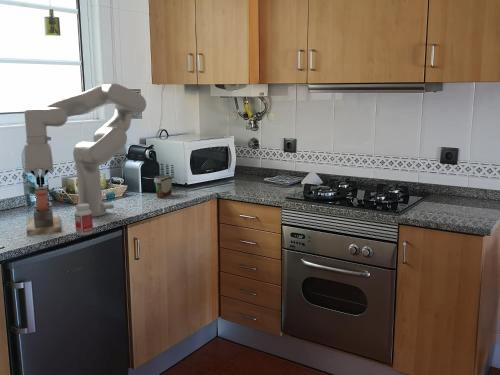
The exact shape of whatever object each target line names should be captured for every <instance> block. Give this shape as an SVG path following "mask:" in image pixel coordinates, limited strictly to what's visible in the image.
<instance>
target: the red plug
mask: <svg viewBox="0 0 500 375" xmlns="http://www.w3.org/2000/svg"><path fill="white" fill-rule="evenodd" d="M34 194H35V196H36V202H37V207H38V212H40V211H48V205H47V202H48V190H47V189H46V190H39V191H37V190H35V191H34Z"/></svg>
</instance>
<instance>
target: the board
mask: <svg viewBox="0 0 500 375" xmlns="http://www.w3.org/2000/svg"><path fill="white" fill-rule="evenodd" d="M47 202H48V201H47ZM52 203H53V202H51V201H50V202H48V211H40V212H38V207H37V203H34V204H33V216H32V217H28V219H27V227H26V235H27V236H37V235H46V234H56V233H62V232H63V231H62V223H61V216H60V214H53V205H52Z"/></svg>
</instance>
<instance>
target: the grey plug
mask: <svg viewBox="0 0 500 375" xmlns="http://www.w3.org/2000/svg"><path fill="white" fill-rule="evenodd" d="M34 189H35V190H36V191H39V190H47V189H48V185H43V187H39V185H37V186H35V188H34ZM47 205H48V201H47Z"/></svg>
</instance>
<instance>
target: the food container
mask: <svg viewBox="0 0 500 375" xmlns="http://www.w3.org/2000/svg"><path fill="white" fill-rule="evenodd" d="M172 181H173V176H172V175H171V174H169V175H168V174H166V175H158V176H157V175H156V176H154V179H153V182H154V184H155V189H156V190H155V191H156V198H157V199H161V200H163V199H166V198H168V197H170V196H172V191H173V190H172V187H173V186H172V183H173V182H172Z"/></svg>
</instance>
